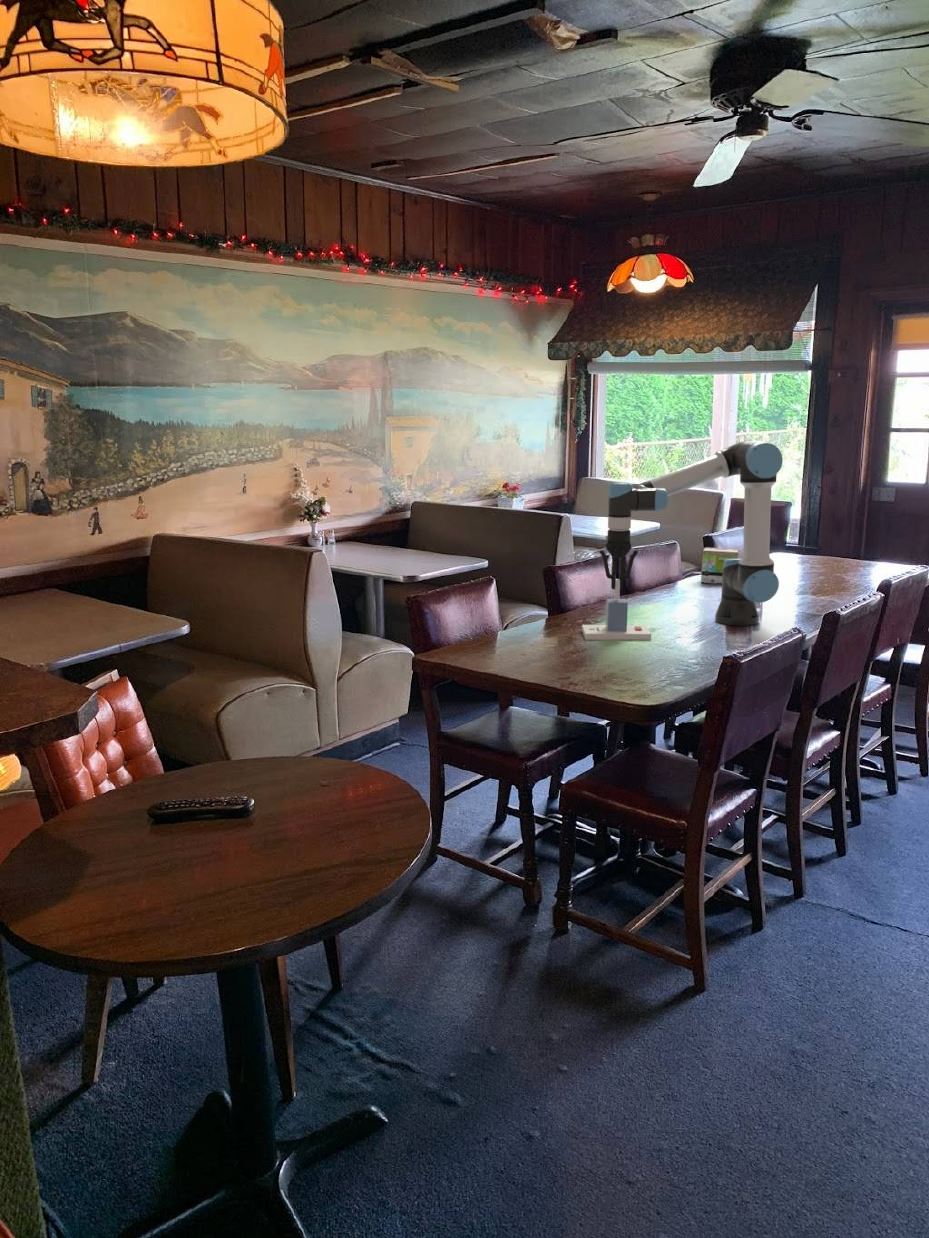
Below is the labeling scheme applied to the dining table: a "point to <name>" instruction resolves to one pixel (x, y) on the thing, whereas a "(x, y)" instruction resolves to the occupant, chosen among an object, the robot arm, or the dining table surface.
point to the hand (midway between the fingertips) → (616, 598)
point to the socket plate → (616, 633)
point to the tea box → (715, 563)
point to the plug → (616, 615)
